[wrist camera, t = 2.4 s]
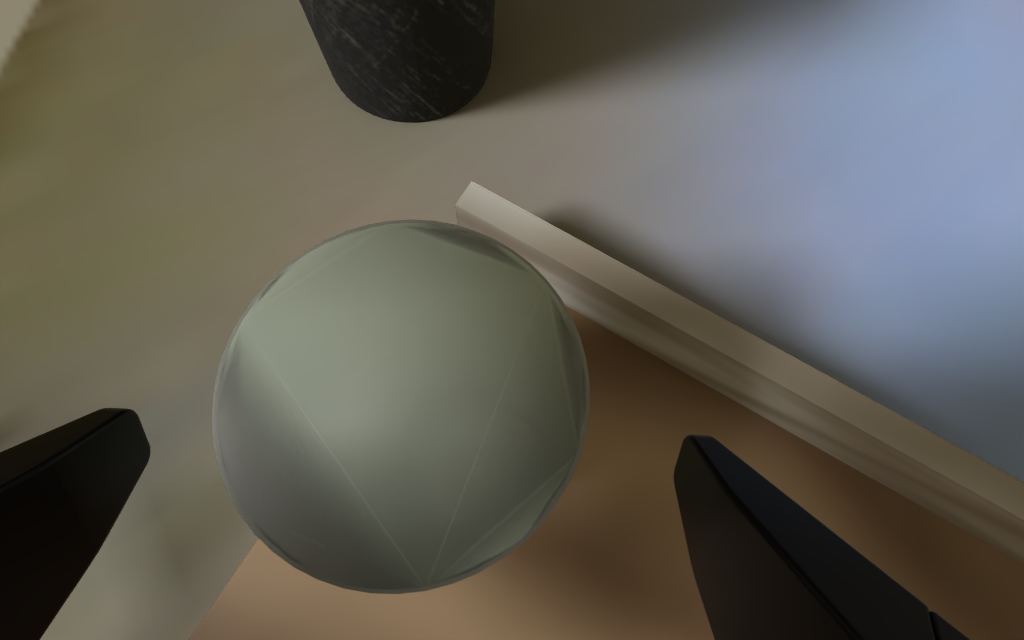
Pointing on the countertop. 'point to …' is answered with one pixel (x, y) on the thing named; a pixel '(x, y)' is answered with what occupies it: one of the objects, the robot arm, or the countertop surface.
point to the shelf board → (651, 492)
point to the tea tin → (400, 406)
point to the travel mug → (405, 52)
